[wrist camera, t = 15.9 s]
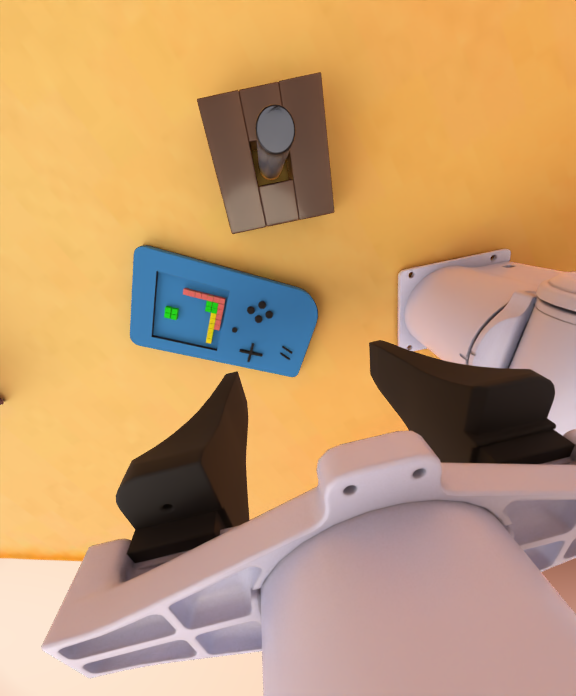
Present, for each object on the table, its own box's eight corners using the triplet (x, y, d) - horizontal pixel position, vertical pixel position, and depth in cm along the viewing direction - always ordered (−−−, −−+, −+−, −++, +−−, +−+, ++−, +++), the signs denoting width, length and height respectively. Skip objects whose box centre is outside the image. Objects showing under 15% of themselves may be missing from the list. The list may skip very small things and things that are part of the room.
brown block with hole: (313, 91, 17) (321, 71, 15) (326, 212, 20) (334, 212, 18) (205, 114, 17) (196, 98, 15) (235, 231, 20) (231, 234, 18)
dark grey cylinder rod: (279, 150, 18) (291, 99, 10) (283, 177, 19) (298, 150, 11) (256, 155, 18) (250, 108, 10) (261, 182, 19) (260, 158, 11)
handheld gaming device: (297, 380, 25) (127, 345, 22) (295, 373, 26) (133, 339, 23) (326, 297, 22) (132, 244, 19) (324, 294, 23) (138, 242, 20)
